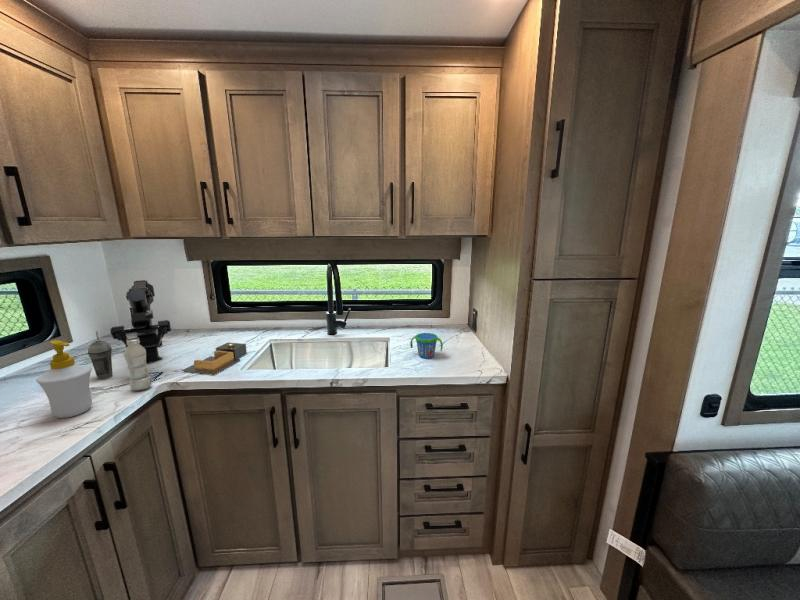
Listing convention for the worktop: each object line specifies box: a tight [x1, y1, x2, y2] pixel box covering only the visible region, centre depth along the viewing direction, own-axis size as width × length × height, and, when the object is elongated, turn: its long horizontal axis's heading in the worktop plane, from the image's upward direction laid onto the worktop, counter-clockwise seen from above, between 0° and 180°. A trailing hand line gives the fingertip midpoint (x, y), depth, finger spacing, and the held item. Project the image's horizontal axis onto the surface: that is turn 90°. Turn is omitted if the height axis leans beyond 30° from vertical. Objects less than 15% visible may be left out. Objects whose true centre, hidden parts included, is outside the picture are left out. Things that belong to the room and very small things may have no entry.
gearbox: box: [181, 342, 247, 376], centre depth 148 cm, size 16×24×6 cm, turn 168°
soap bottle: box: [35, 339, 93, 419], centre depth 106 cm, size 13×13×25 cm
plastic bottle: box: [123, 336, 152, 392], centre depth 122 cm, size 6×7×20 cm
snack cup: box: [409, 332, 444, 359], centre depth 157 cm, size 16×10×10 cm
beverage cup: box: [87, 330, 113, 381], centre depth 132 cm, size 7×7×20 cm
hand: (143, 348), depth 129 cm, fingers open, 9 cm apart
